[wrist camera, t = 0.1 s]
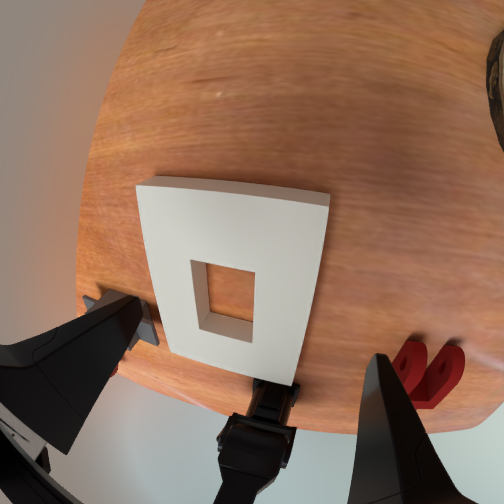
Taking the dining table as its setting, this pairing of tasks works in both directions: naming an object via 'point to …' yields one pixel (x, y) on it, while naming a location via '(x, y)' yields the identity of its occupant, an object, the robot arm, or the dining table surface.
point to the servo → (146, 325)
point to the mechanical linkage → (428, 372)
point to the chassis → (234, 256)
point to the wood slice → (496, 85)
